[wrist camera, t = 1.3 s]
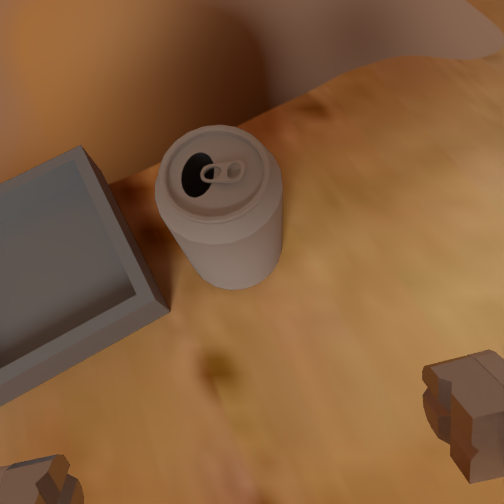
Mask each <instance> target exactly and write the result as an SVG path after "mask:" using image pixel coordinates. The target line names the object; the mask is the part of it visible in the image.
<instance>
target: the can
mask: <svg viewBox="0 0 504 504" xmlns="http://www.w3.org/2000/svg"><path fill="white" fill-rule="evenodd" d="M155 201H156V204H157V207H158V210H159V213H160V215H161V217H162V219H163V220H164V222H165V224H166V225H167V227H168V228H169V230H170V231H171V233H172V235H173V236H174V238H175V239H176V241H177V242H178V244H179V245H180V247H181V249H182V250H183V252H184V253H185V255H186V256H187V258H188V260H189V261H190V263H191V264H192V266H193V267H194V269H195V270H196V271H197V272H198V274H199V275H200V276H201V277H202V279H204V280H205V281H207V282H209V283H210V284H212V285H213V286H215V287H219V288H223V289H228V290H236V289H246V288H248V287H251V286H253V285H256V284H258V283H260V282H261V281H262V280H264V279H265V278H266V277H267V276H268V275H270V274H271V272H272V271H273V269H274V268H275V266H276V265H277V263H278V261H279V257H280V253H281V249H282V207H283V185H282V175H281V170H280V168H279V166H278V164H277V162H276V160H275V158H274V156H273V154H272V153H271V152H270V151H269V150H268V149H266V148H265V147H264V146H263V144H262V143H261V142H259V141H258V140H257V139H256V138H255V137H254V136H253V135H252V134H250V133H248V132H246V131H244V130H242V129H240V128H238V127H232V126H226V125H212V126H204V127H202V128H198V129H195V130H193V131H190V132H188V133H186V134H185V135H183V136H182V137H181V138H179V139H178V140H176V141H175V142H174V143H173V144H172V146H171V147H170V148H169V149H168V151H167V152H166V153H165V154H164V157H163V159H162V162H161V165H160V167H159V174H158V177H157V179H156V182H155Z"/></svg>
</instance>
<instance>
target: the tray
mask: <svg viewBox="0 0 504 504" xmlns="http://www.w3.org/2000/svg"><path fill="white" fill-rule="evenodd" d="M169 312H170V310H169V308H168V306H167V304H166V302H165V300H164V298H163V296H162V294H161V292H160V290H159V288H158V286H157V284H156V282H155V280H154V278H153V276H152V274H151V271H150V269H149V267H148V265H147V263H146V261H145V259H144V257H143V255H142V253H141V251H140V249H139V247H138V245H137V243H136V241H135V239H134V237H133V235H132V233H131V231H130V229H129V227H128V225H127V223H126V221H125V219H124V217H123V214H122V212H121V210H120V208H119V206H118V204H117V202H116V200H115V198H114V196H113V194H112V192H111V190H110V188H109V186H108V184H107V182H106V180H105V178H104V176H103V174H102V172H101V170H100V169H99V168H98V167H97V165H96V164H95V163H94V161H93V160H92V159H91V157H89V155H88V154H87V152H86V151H85V150H84V149H83V147H82V146H81V145H80V146H78V147H76V148H73V149H72V150H69V151H67V152H65V153H63V154H61V155H59V156H57V157H55V158H53V159H51V160H49V161H47V162H45V163H42V164H41V165H38V166H36V167H34V168H32V169H30V170H28V171H26V172H24V173H22V174H20V175H18V176H16V177H14V178H12V179H9V180H7V181H5V182H3V183H1V184H0V406H2V405H4V404H6V403H7V402H9V401H11V400H13V399H15V398H16V397H18V396H20V395H22V394H24V393H25V392H27V391H29V390H31V389H33V388H34V387H36V386H38V385H40V384H42V383H43V382H45V381H47V380H49V379H51V378H52V377H54V376H56V375H58V374H60V373H61V372H63V371H65V370H67V369H69V368H70V367H72V366H74V365H76V364H78V363H79V362H81V361H83V360H85V359H87V358H88V357H90V356H92V355H94V354H96V353H97V352H99V351H101V350H103V349H104V348H106V347H108V346H110V345H112V344H113V343H115V342H117V341H119V340H121V339H122V338H124V337H126V336H128V335H130V334H131V333H133V332H135V331H137V330H139V329H140V328H142V327H144V326H146V325H148V324H149V323H151V322H153V321H155V320H157V319H158V318H160V317H162V316H164V315H166V314H167V313H169Z"/></svg>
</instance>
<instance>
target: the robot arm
mask: <svg viewBox="0 0 504 504" xmlns="http://www.w3.org/2000/svg"><path fill="white" fill-rule="evenodd" d="M422 380H423V381H424V383H425V384H426V386H427V387H428V388H427V389H426V391H425V392H424V394H423V407H424V410H425V414H426V417H427V420H428V422H429V424H430V426H431V428H432V429H433V431H434V432H435V434H436V435H437V437H438V438H439V439H441V440H443V441H444V442H446V443H448V444H450V456H451V458H452V459H453V460H454V462H455V463H456V465H457V466H458V468H459V469H460V471H461V472H462V474H463V475H464V476H465V478H466V479H467V481H468V482H469V484H472V483H476V482H481V481H486V480H490V479H495V478H499V477H504V359H503V358H502V357H501V356H499V355H498V354H497V353H496V352H494V351H492V350H485V351H482V352H478V353H474V354H470V355H467V356H462V357H458V358H454V359H450V360H446V361H442V362H438V363H434V364H430V365H426V366H424V368H423V370H422ZM69 467H70V464H69V462H68V461H67V459H66V457H65V456H64V455H61V454H57V455H52V456H48V457H43V458H38V459H34V460H29V461H24V462H20V463H15V464H12V465H8V466H3V467H0V504H84V494H83V490H82V486H81V484H80V482H79V480H78V479H77V478H75V477H73V476H71V475H69V474H67V473H68V470H69Z"/></svg>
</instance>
